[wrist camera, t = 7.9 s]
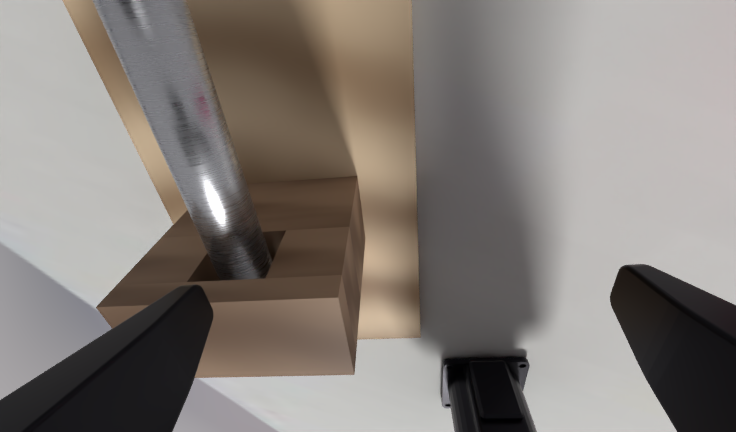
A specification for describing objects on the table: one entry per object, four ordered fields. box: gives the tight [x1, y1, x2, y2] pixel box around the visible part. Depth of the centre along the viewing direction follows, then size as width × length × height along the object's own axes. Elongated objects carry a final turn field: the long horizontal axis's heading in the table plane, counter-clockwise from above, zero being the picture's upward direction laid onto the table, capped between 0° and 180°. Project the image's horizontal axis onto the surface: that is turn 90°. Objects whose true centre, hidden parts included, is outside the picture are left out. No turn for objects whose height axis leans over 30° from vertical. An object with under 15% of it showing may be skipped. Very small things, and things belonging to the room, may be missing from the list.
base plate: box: [63, 0, 421, 339], centre depth 19 cm, size 23×14×1 cm, turn 5°
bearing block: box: [96, 176, 366, 378], centre depth 15 cm, size 4×8×8 cm, turn 95°
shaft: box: [92, 0, 272, 281], centre depth 8 cm, size 16×3×5 cm, turn 5°
